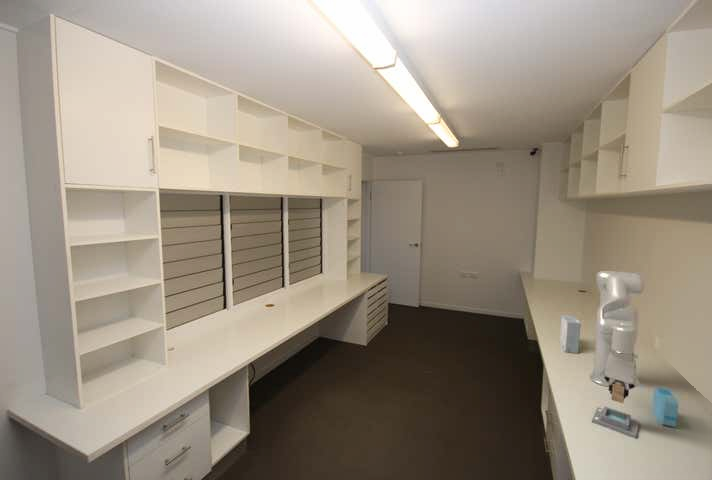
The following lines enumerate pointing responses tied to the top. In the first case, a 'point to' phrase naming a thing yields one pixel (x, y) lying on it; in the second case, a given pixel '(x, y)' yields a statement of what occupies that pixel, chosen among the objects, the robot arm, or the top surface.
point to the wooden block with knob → (618, 391)
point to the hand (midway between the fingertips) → (618, 394)
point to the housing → (616, 421)
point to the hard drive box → (570, 334)
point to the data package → (665, 407)
